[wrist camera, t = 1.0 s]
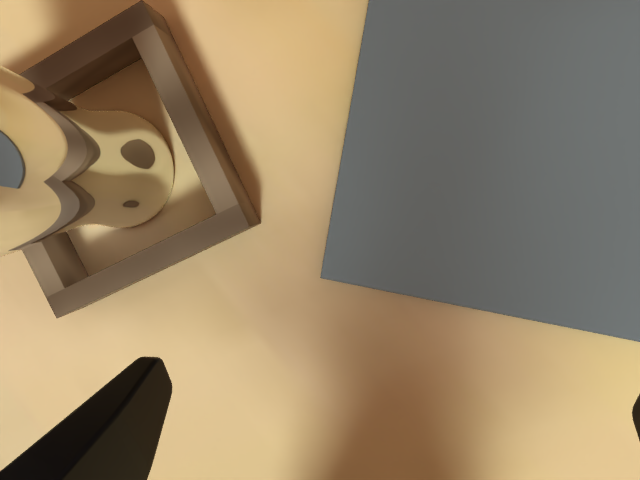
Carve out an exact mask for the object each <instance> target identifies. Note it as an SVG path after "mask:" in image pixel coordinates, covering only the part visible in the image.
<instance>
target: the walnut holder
mask: <svg viewBox="0 0 640 480" xmlns="http://www.w3.org/2000/svg"><path fill="white" fill-rule="evenodd" d="M140 58H142V59H143V61H144V64H145V66H146V68H147V70H148V72H149V74H150V76H151V78H152V80H153V82H154V84H155V87H156V89H157V91H158V93H159V95H160V97H161V99H162V101H163V103H164V105H165V108H166V110H167V112H168V114H169V116H170V118H171V120H172V122H173V124H174V126H175V128H176V131H177V133H178V135H179V137H180V139H181V141H182V143H183V145H184V147H185V149H186V152H187V154H188V156H189V158H190V160H191V162H192V164H193V166H194V168H195V170H196V172H197V175H198V177H199V179H200V181H201V183H202V185H203V187H204V189H205V191H206V193H207V195H208V198H209V200H210V202H211V204H212V206H213V208H214V210H215V212H216V215H214V216H212V217H210V218H208V219H206V220H204V221H202V222H200V223H198V224H196V225H194V226H192V227H189V228H187V229H185V230H183V231H181V232H179V233H177V234H175V235H173V236H171V237H169V238H167V239H165V240H163V241H161V242H159V243H157V244H155V245H153V246H151V247H149V248H146V249H144V250H142V251H140V252H138V253H136V254H134V255H132V256H130V257H128V258H126V259H124V260H122V261H120V262H118V263H116V264H114V265H112V266H110V267H108V268H105V269H103V270H101V271H99V272H97V273H95V274H93V275H91V276H89V277H88V275H87V273H86V271H85V269H84V267H83V265H82V263H81V261H80V259H79V257H78V254H77V252H76V250H75V248H74V246H73V244H72V242H71V240H70V238H69V236H68V234H67V232H64V233H62V234H59V235H57V236H54V237H52V238H50V239H47V240H45V241H42V242H40V243H37V244H35V245H32V246H30V247H27V248H25V249H22V251H23V253H24V255H25V257H26V259H27V261H28V263H29V265H30V267H31V269H32V271H33V273H34V274H35V276H36V278H37V280H38V282H39V284H40V286H41V288H42V290H43V292H44V294H45V296H46V298H47V300H48V302H49V304H50V306H51V308H52V310H53V312H54V314H55V316H56V318H59V317H62V316H64V315H66V314H69V313H71V312H74V311H76V310H79V309H81V308H84V307H86V306H88V305H90V304H92V303H94V302H96V301H98V300H100V299H103V298H105V297H107V296H109V295H111V294H113V293H115V292H117V291H119V290H121V289H124V288H126V287H128V286H130V285H132V284H134V283H136V282H138V281H140V280H143V279H145V278H147V277H149V276H151V275H153V274H155V273H157V272H159V271H162V270H164V269H166V268H168V267H170V266H172V265H174V264H176V263H178V262H181V261H183V260H185V259H187V258H189V257H191V256H193V255H195V254H197V253H199V252H202V251H204V250H206V249H208V248H210V247H212V246H214V245H216V244H218V243H221V242H223V241H225V240H227V239H229V238H231V237H233V236H235V235H237V234H240V233H242V232H244V231H246V230H248V229H250V228H252V227H254V226H256V225H259V224H261V223H260V220H259V218H258V216H257V214H256V212H255V210H254V208H253V206H252V204H251V201H250V199H249V197H248V195H247V193H246V191H245V189H244V187H243V184H242V182H241V180H240V178H239V176H238V174H237V172H236V170H235V168H234V165H233V163H232V161H231V159H230V157H229V155H228V153H227V151H226V148H225V146H224V144H223V142H222V140H221V138H220V136H219V134H218V132H217V129H216V127H215V125H214V123H213V121H212V119H211V117H210V115H209V112H208V110H207V108H206V106H205V104H204V102H203V100H202V98H201V96H200V93H199V91H198V89H197V87H196V85H195V83H194V81H193V79H192V76H191V74H190V72H189V70H188V68H187V66H186V64H185V62H184V60H183V57H182V55H181V53H180V51H179V49H178V47H177V45H176V43H175V40H174V38H173V36H172V34H171V32H170V30H169V28H168V26H167V24H166V21H165V19H164V17H163V16H162V15H160V14H159V13H158V12H157V11H155V10H154V9H153V8H151V7H150V6H149V5H148V4H146V3H145V2H144V1H142V0H141V1H140V2H138V3H136V4H135V5H133V6H131V7H130V8H128V9H127V10H125V11H123V12H122V13H120V14H118V15H117V16H115V17H113V18H112V19H110V20H108V21H107V22H105V23H103V24H102V25H100V26H99V27H97V28H95V29H94V30H92V31H90V32H89V33H87V34H85V35H84V36H82V37H80V38H79V39H77V40H75V41H74V42H72V43H71V44H69V45H67V46H66V47H64V48H62V49H61V50H59V51H57V52H56V53H54V54H52V55H51V56H49V57H47V58H46V59H44V60H43V61H41V62H39V63H38V64H36V65H34V66H33V67H31V68H29V69H28V70H26V71H24V72H23V73H21V74H19V75H21V76H22V77H24V78H26V79H28V80H30V81H32V82H34V83H35V84H37V85H39V86H41V87H43V88H45V89H46V90H48V91H50V92H52V93H54V94H55V95H57V96H59V97H61V98H63V99H64V100H66V101H68V100H69V99H71V98H73V97H75V96H76V95H78V94H80V93H82V92H83V91H85V90H87V89H88V88H90V87H92V86H94V85H95V84H97V83H99V82H101V81H102V80H104V79H106V78H107V77H109V76H111V75H113V74H114V73H116V72H118V71H120V70H121V69H123V68H125V67H126V66H128V65H130V64H132V63H133V62H135V61H137V60H138V59H140Z"/></svg>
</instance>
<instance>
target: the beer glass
mask: <svg viewBox="0 0 640 480" xmlns="http://www.w3.org/2000/svg"><path fill="white" fill-rule="evenodd" d="M173 180H174V165H173V159H172V155H171V152H170V149H169V147H168V145H167V143H166V141H165V139H164V137H163V136H162V135H161V133H160V132H159V131H158V130H157V129H156V128H155V127H154V126H153V125H152V124H151V123H150V122H148V121H147V120H145V119H144V118H142V117H140V116H138V115H135V114H133V113H129V112H125V111H115V110H106V111H90V110H86V109H83V108H80V107H78V106H76V105H74V104H72V103H70V102H68V101H66V100H64V99H63V98H61V97H59V96H57V95H55V94H54V93H52V92H50V91H48V90H46V89H45V88H43V87H41V86H39V85H37V84H35V83H34V82H32V81H30V80H28V79H26V78H24V77H22V76H21V75H19V74H17V73H15V72H13V71H11V70H9V69H7V68H4V67H2V66H0V257H2V256H5V255H8V254H11V253H14V252H17V251H20V250H22V249H25V248H27V247H30V246H32V245H35V244H37V243H40V242H42V241H45V240H47V239H50V238H52V237H54V236H57V235H59V234H62V233H64V232H66V231H69V230H72V229H74V228H77V227H80V226H85V225H101V226H107V227H114V228H128V227H133V226H137V225H140V224H142V223H144V222H146V221H148V220H149V219H151V218H152V217H154V216H155V215H156V214H157V213H158V212H159V211H160V210H161V209H162V208H163V206H164V205H165V203H166V202H167V200H168V198H169V195H170V193H171V190H172V186H173Z"/></svg>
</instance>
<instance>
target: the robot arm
mask: <svg viewBox="0 0 640 480" xmlns="http://www.w3.org/2000/svg"><path fill="white" fill-rule="evenodd" d="M171 394H172V383H171V380H170V377H169V375H168V372H167V370H166V367H165V365H164V362H163V361H162V359H160V358H158V357H140V358H138V359H137V360H135V361H134V362H133V363H132V364H131V365H129V366H128V367H127V368H126V369H124V370H123V371H122V372H121V373H120V374H118V375H117V376H116V377H115V378H113V379H112V380H111V381H110V382H109V383H107V384H106V385H105V386H104V387H103V388H101V389H100V390H99V391H98V392H96V393H95V394H94V395H93V396H92V397H90V398H89V399H88V400H87V401H85V402H84V403H83V404H82V405H81V406H79V407H78V408H77V409H76V410H74V411H73V412H72V413H71V414H70V415H68V416H67V417H66V418H65V419H64V420H62V421H61V422H60V423H59V424H57V425H56V426H55V427H54V428H53V429H51V430H50V431H49V432H48V433H46V434H45V435H44V436H43V437H42V438H40V439H39V440H38V441H37V442H36V443H34V444H33V445H32V446H31V447H29V448H28V449H27V450H26V451H25V452H23V453H22V454H21V455H20V456H18V457H17V458H16V459H15V460H14V461H12V462H11V463H10V464H9V465H7V466H6V467H5V468H4V469H3V470H1V471H0V480H147V478H148V475H149V472H150V470H151V467H152V463H153V460H154V457H155V453H156V449H157V446H158V442H159V438H160V435H161V431H162V428H163V424H164V420H165V417H166V413H167V409H168V406H169V402H170V398H171ZM632 416H633V421H634V425H635V428H636V431H637V434H638V437H639V441H640V395H639V396H638V398H637V400H636V402H635V404H634V406H633V411H632Z"/></svg>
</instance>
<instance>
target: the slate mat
mask: <svg viewBox="0 0 640 480" xmlns="http://www.w3.org/2000/svg"><path fill="white" fill-rule="evenodd" d="M320 278H323V279H328V280H333V281H338V282H343V283H348V284H353V285H358V286H363V287H368V288H373V289H378V290H383V291H388V292H393V293H398V294H403V295H408V296H413V297H418V298H423V299H428V300H433V301H438V302H443V303H448V304H453V305H458V306H463V307H468V308H473V309H478V310H483V311H488V312H493V313H498V314H503V315H508V316H513V317H518V318H523V319H528V320H533V321H538V322H543V323H548V324H553V325H558V326H563V327H568V328H573V329H578V330H583V331H588V332H593V333H598V334H603V335H608V336H613V337H618V338H623V339H628V340H633V341H638V342H640V0H369V4H368V9H367V15H366V21H365V27H364V32H363V38H362V44H361V49H360V55H359V61H358V66H357V72H356V78H355V84H354V89H353V95H352V101H351V106H350V112H349V118H348V123H347V129H346V135H345V141H344V146H343V152H342V158H341V163H340V169H339V175H338V180H337V186H336V192H335V198H334V203H333V209H332V215H331V220H330V226H329V232H328V237H327V243H326V249H325V255H324V260H323V266H322V272H321V277H320Z"/></svg>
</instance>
